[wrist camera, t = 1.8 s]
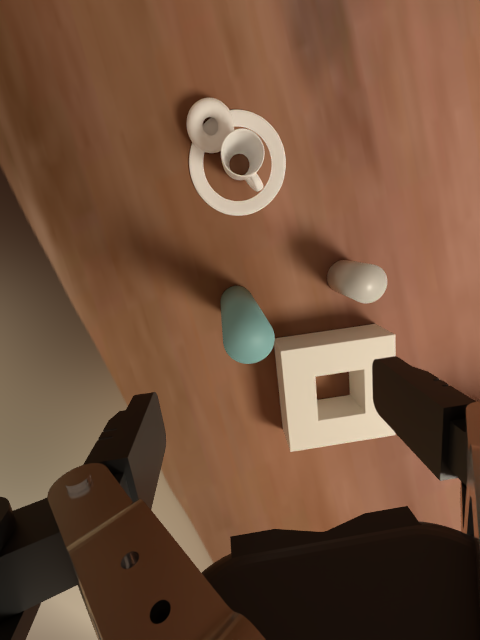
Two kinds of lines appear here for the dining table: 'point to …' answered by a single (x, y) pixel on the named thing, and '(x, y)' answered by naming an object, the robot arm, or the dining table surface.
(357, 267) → the short pin
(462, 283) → the dining table surface
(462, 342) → the dining table surface
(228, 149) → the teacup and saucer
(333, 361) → the hole block
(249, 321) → the long pin
